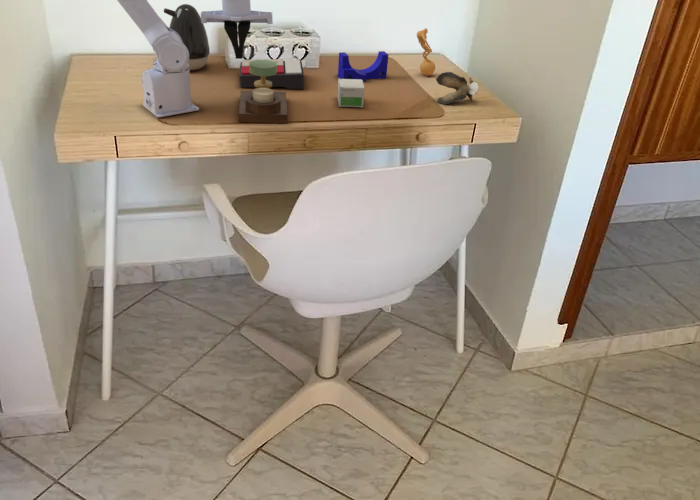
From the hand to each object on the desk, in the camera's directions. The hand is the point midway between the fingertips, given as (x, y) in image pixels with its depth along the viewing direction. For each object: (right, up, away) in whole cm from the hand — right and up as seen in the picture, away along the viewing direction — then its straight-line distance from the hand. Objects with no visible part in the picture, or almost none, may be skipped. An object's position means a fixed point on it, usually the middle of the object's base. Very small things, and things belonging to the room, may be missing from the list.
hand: (239, 57), depth 143 cm
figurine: (+43, +4, +32) cm, 54 cm away
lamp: (+4, -5, +5) cm, 8 cm away
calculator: (+5, 0, +20) cm, 20 cm away
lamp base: (+5, -11, +3) cm, 12 cm away
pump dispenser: (-17, +4, +25) cm, 30 cm away
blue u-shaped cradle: (+27, +2, +27) cm, 38 cm away
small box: (+24, -8, +11) cm, 27 cm away
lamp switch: (+5, -10, -2) cm, 11 cm away
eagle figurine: (+49, -6, +17) cm, 52 cm away
